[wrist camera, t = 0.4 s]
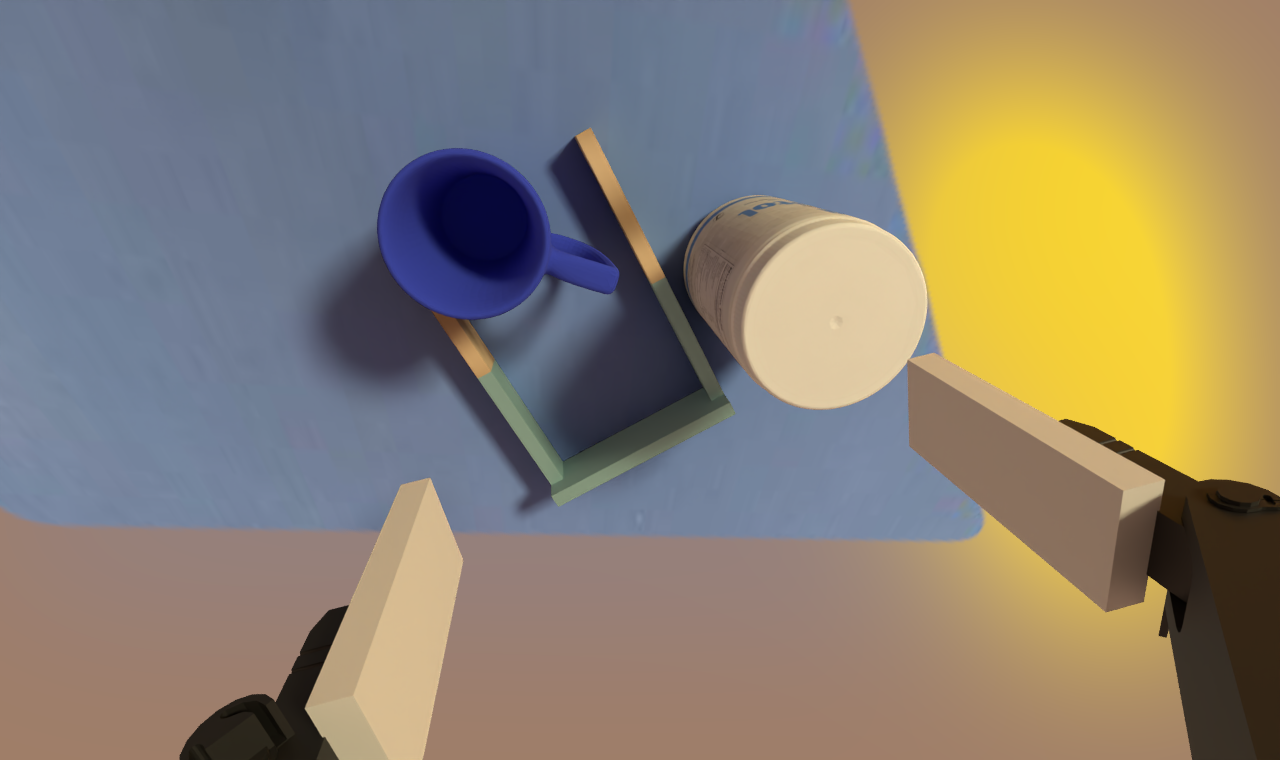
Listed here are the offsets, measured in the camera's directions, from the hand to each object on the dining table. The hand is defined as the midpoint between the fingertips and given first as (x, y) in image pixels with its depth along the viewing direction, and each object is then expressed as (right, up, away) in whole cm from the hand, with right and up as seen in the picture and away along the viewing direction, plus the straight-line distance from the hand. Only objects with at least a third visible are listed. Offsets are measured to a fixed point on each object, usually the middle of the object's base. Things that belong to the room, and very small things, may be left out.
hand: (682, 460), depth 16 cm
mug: (-9, +12, +23) cm, 27 cm away
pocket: (-4, +2, +27) cm, 28 cm away
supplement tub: (+6, +10, +26) cm, 28 cm away
